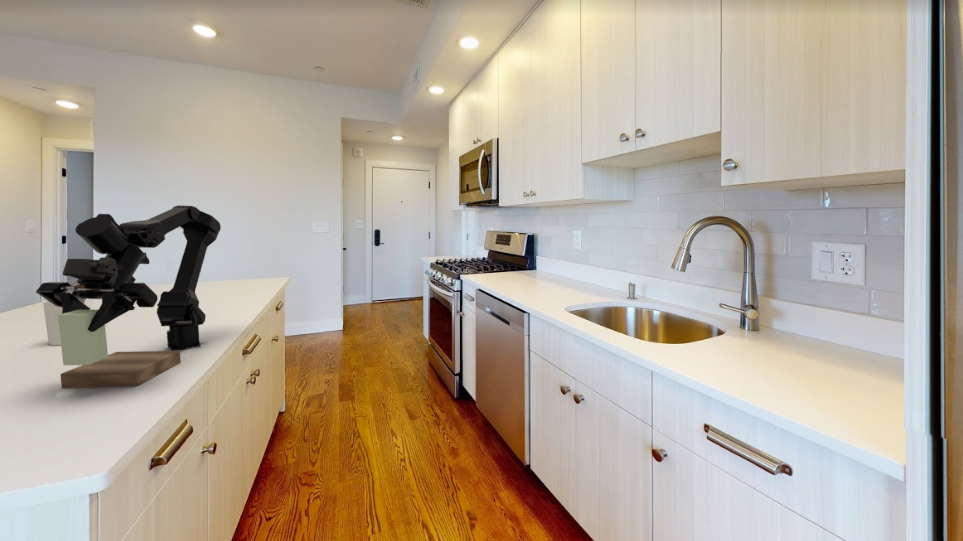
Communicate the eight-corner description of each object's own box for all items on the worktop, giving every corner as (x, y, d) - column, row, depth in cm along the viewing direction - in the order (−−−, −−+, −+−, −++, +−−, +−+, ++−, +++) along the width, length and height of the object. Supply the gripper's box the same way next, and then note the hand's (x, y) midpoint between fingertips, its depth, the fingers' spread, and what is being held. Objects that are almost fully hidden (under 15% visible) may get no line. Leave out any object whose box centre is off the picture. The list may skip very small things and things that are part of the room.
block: (84, 357, 77) (79, 309, 76) (108, 356, 78) (103, 309, 77) (63, 365, 73) (57, 314, 72) (89, 364, 73) (83, 314, 72)
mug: (83, 342, 106) (80, 300, 105) (47, 347, 101) (43, 303, 100) (81, 335, 113) (77, 295, 112) (47, 339, 108) (42, 298, 107)
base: (117, 363, 91) (116, 351, 91) (180, 362, 93) (180, 350, 93) (61, 387, 78) (60, 373, 77) (137, 386, 79) (136, 372, 79)
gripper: (39, 242, 75) (-18, 309, 66) (143, 244, 78) (102, 309, 68) (80, 275, 84) (34, 338, 74) (172, 276, 86) (139, 337, 77)
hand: (76, 331), depth 73 cm, fingers closed on block, 4 cm apart
